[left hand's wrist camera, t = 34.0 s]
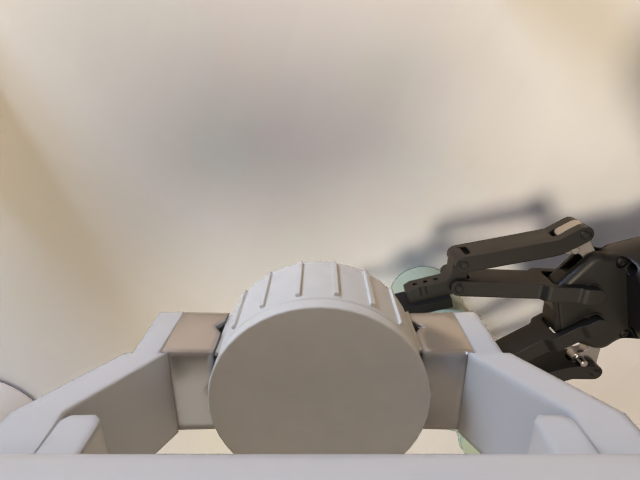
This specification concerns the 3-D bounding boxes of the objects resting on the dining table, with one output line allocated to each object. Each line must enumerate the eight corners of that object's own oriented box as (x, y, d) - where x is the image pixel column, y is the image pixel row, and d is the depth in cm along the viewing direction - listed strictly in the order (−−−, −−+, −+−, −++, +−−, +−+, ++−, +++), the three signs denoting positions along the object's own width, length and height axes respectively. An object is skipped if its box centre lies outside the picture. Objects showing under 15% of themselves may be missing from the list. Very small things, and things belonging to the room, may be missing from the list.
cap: (232, 244, 9) (211, 288, 7) (433, 272, 9) (460, 320, 7) (219, 406, 11) (197, 475, 9) (392, 426, 11) (406, 498, 9)
